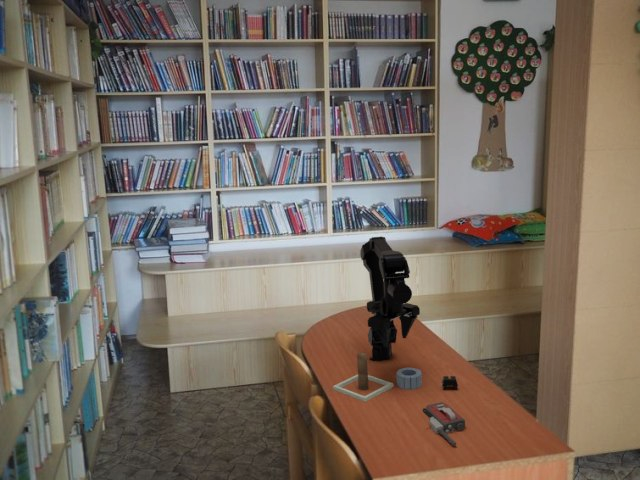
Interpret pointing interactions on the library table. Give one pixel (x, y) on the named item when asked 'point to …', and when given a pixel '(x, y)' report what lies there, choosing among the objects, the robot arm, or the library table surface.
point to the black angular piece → (449, 382)
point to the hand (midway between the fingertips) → (394, 342)
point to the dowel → (362, 371)
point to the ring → (409, 378)
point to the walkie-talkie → (444, 420)
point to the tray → (358, 396)
